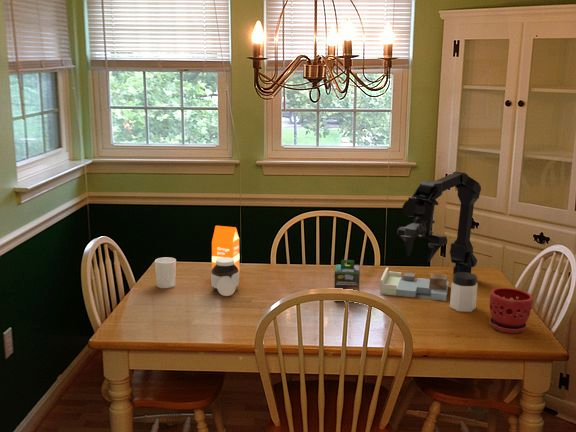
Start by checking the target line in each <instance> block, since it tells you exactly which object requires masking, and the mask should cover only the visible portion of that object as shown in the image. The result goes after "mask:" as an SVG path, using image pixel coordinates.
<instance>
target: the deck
mask: <svg viewBox="0 0 576 432" xmlns="http://www.w3.org/2000/svg"><path fill="white" fill-rule="evenodd" d="M403 276H404V275H403ZM403 276H402V271H401V272H400V271H399V272H398V271H391V270H390V271H389V267H388V266H387V267H385V270H384V272H383V274H382V276H381V278H380V279H379V280H380V282H379V284H380V285H379V294H381V295H388V296H397V297H398V296H399V297H405V298H406V297H408V298H417V299H418V298H419V299H427V300H434V301H435V300H436V301H444V302H446V301H447V297H448V296H447V295H448V290H449V280H447V285H446V290H440V289H431V288H429V283H430V278H424V277H423V278H421V277H416V278H415V282H413V281H403Z"/></svg>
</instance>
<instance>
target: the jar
mask: <svg viewBox="0 0 576 432" xmlns="http://www.w3.org/2000/svg"><path fill="white" fill-rule="evenodd" d="M477 295H478V276H477V274H475V273H472V272H471V273H468V272H457V273H454V274H453V273H452V281H451V285H450V299H449V308H451V309H453V310H454V311H456V312H462V313H464V312H465V313H466V312H467V313H472V312H473V311H474V310H476V307H477V306H476V305H477Z"/></svg>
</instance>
